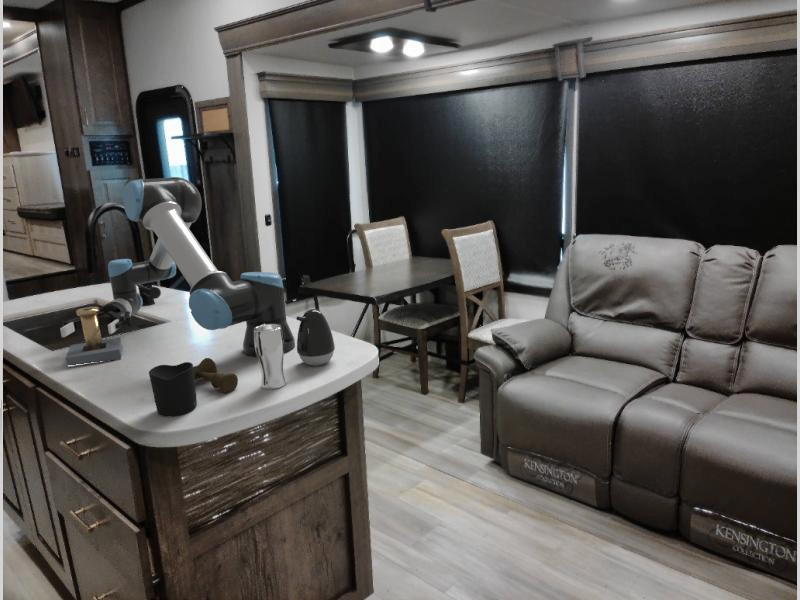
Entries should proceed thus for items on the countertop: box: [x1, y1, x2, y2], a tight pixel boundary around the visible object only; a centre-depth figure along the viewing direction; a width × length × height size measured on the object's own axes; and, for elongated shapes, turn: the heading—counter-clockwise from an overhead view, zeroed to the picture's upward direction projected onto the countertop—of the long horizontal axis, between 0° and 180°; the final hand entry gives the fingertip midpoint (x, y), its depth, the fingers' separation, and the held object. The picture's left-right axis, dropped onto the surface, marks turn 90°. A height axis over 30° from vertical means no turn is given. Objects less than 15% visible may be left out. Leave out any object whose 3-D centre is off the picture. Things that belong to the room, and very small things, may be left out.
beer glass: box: [254, 324, 287, 390], centre depth 146 cm, size 7×7×15 cm
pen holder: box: [148, 361, 198, 417], centre depth 135 cm, size 9×9×10 cm
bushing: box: [75, 306, 103, 351], centre depth 176 cm, size 6×6×15 cm
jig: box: [65, 336, 123, 366], centre depth 177 cm, size 14×14×3 cm
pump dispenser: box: [296, 308, 336, 367], centre depth 160 cm, size 10×10×15 cm
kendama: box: [193, 357, 239, 394], centre depth 149 cm, size 6×10×20 cm
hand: (85, 331), depth 172 cm, fingers open, 13 cm apart
